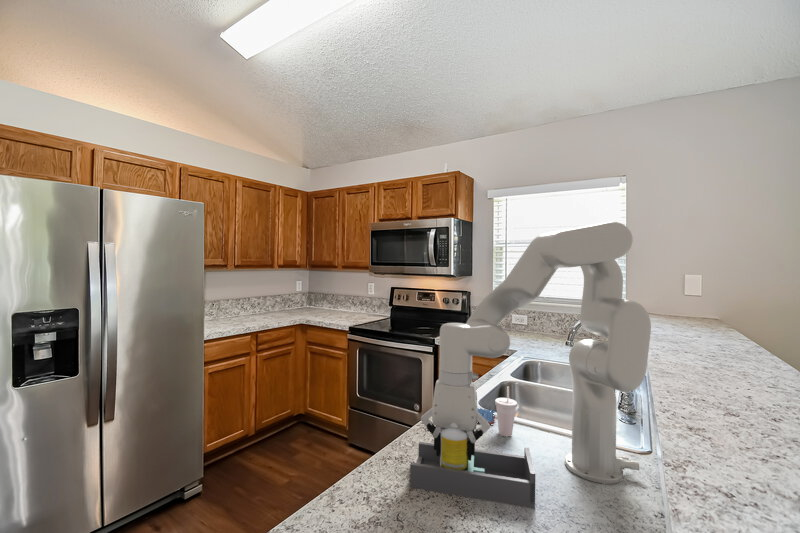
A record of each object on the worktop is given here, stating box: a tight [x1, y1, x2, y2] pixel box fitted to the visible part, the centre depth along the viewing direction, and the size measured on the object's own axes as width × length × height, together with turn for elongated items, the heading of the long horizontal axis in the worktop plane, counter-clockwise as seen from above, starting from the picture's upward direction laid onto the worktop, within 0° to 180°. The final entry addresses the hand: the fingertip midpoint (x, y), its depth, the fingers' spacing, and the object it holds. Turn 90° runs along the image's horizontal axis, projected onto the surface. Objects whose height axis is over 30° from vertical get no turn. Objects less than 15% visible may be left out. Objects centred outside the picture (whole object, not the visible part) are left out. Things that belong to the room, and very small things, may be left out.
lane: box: [409, 441, 536, 510], centre depth 80 cm, size 26×11×7 cm, turn 76°
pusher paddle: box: [468, 455, 484, 473], centre depth 80 cm, size 4×8×3 cm, turn 166°
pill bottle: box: [440, 423, 469, 471], centre depth 81 cm, size 6×6×12 cm
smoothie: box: [494, 386, 518, 438], centre depth 105 cm, size 6×6×14 cm
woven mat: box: [477, 407, 496, 425], centre depth 117 cm, size 10×11×2 cm
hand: (454, 454), depth 81 cm, fingers closed on pill bottle, 6 cm apart
